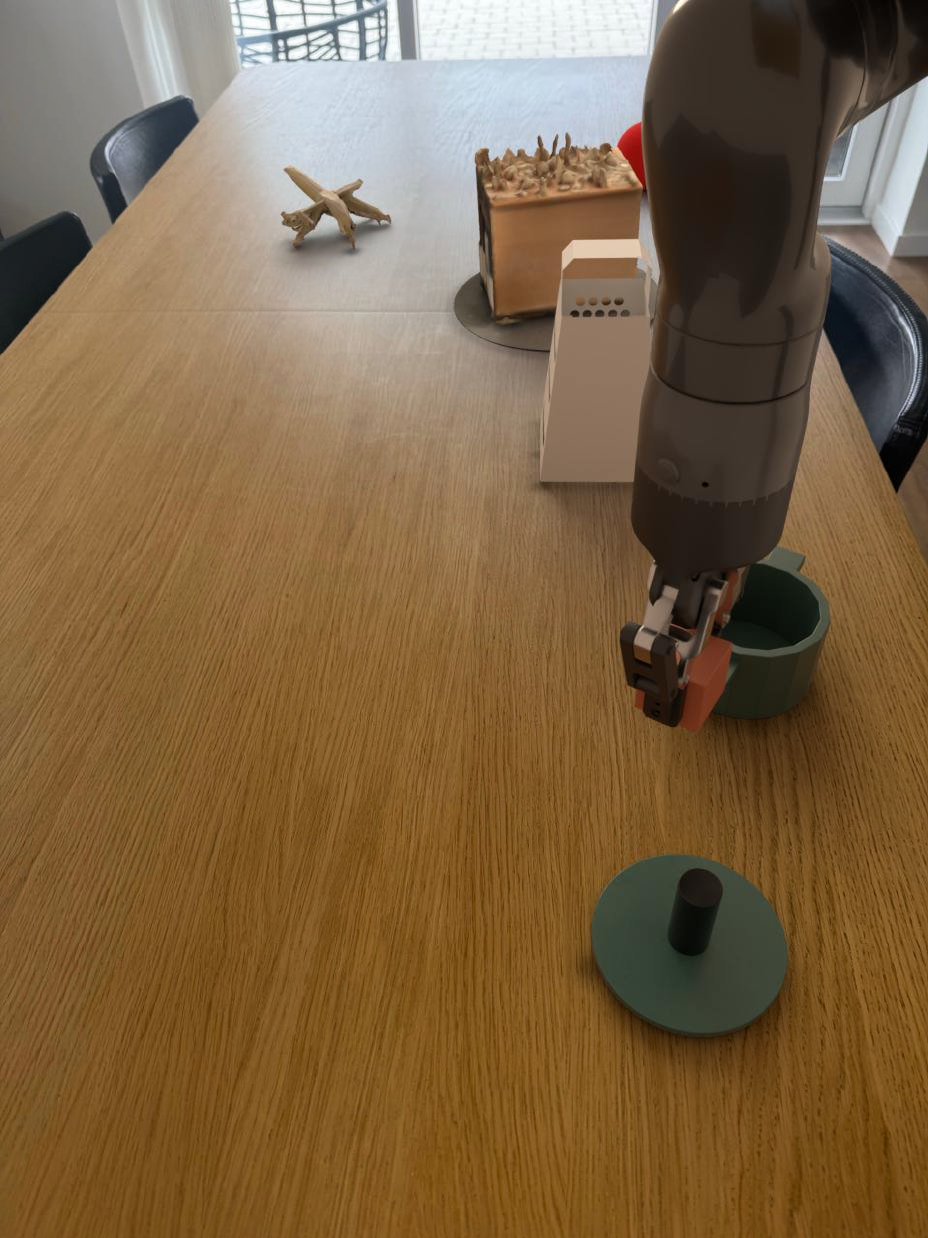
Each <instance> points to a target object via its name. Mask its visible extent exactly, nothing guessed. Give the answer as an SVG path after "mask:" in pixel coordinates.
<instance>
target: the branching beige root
mask: <svg viewBox="0 0 928 1238" xmlns="http://www.w3.org/2000/svg"><path fill="white" fill-rule="evenodd" d="M282 170H283V171H284V172H285V173H286V174H287V175H288V177H289V178H290V180H291V181H292V182H293V183H294V184H295V186H296V187H297V188H299V189H300V191H301V192H303V194H305V195H306V196H307V197H308V198H310V199H311V201H313V202H314V203H313V204H311V205H309V206H307V207H304V208H302V209H299V210H298V209H297V210H295V211H294V212H292V213H286V211H284V210H282V211H281V213H280V216H281V217H282V218H283V220H282V221H281V225H282V226H284V227H287V228H291V230H292V231H294V232H297V233H296V235H295V238H294V241H293V243H292V247H298V246H299V247H301V243H303V242H304V240H305V236H306V235H308V234H309V233H311V232H312V231H314V230H316V227H317V226H318V224H319V222H320V221H321V219H322V216H323V215H324V214H325V215H326V216H329V217H332V218H334V219H335V220H336V222H337V226H338V229H339V232H340V233H341V234H342V235H343V236H346V237H347V238H348V242H349V243H350V244H351V248H352V249H355V248H356V238H355V235H354V232H355V231H356V228H357V223H355V222H354V221H353V219H352V217H351V214H352V215H354V216H356V217H359V218H360V217H361V218H365V219H370V220H374V221H376V222H377V223H378V224H379V225H381V221H386V222H388V224H389V225H392V218H391V215H390V214H385V213H384V212H382V210H380V209H379V208H378V207H376V206H374V205H372V204H369V203H368V202H366V201H364V200H362V199H360V198H358V197H356V196H354V195H353V194H354V193H355V191H357V190H359V189H361V187H362V186H363V184H364V181H363V180H362V179H361V178H358V179H357V180H356V181H353V182H351V183H348V184H346V185H344V186H342V187H340V188H338V189H325V188H324V187H323V186H322V185H321V184H320V183H318V182H317V181H315V180H314V179H313V178H312V177H310V176H309V175H307V174H306V173H304V172H303V171H301V170H300V169H298V168H297V167H295V166H293V165H288V166H286V167H285V168H283V169H282Z"/></svg>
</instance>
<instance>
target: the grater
mask: <svg viewBox="0 0 928 1238" xmlns="http://www.w3.org/2000/svg"><path fill="white" fill-rule="evenodd" d="M637 257H638V258H642V260H644V262H645V263H646V271H645V273H646V282H645V284H644V278H615V279H562V273H563V269H564V268H565V267H566V266H567V265H568V264H569V263H570V262H571V261H572V260H573V259H574V258H637ZM652 271H653V268H652V263H651V257H650V251H649V250H648V248H647V247H646V246H645V245H644V243H643V242H642V241H641V239H640V238H639V239H615V240H573V241H572V242H571V243H570V244H569V245H568V246H567V247H566V248H565V249H564V250H563V251H562V269H561V280H560V287H559V294H558V301H557V308H556V315H555V322H554V329H553V336H552V343H551V350H549V358H548V365H547V372H546V379H545V387H544V393H543V399H542V407H541V415H540V421H539V425H540V427H539V429H540V430H539V431H540V432H539V440H540V441H539V482H540V483H634V472H635V461H636V450H637V439H638V427H639V415H640V407H641V400H642V395H643V391H644V386H645V383H646V379H647V375H648V370H649V365H650V355H651V321H650V314H649V308H648V304H649V293H650V283H651V278H652ZM579 297H582V298H584V299H585V304H584V305H582V306H578V305H577V304H576V299H577V298H579ZM591 297H596V298H597V299H598V303H597V304H596V305H594V306H592V305H590V304H589V303H588V301H589V299H590V298H591ZM604 297H609V298H610V299H611V303H610V304H609V305H607V306H605V305H603V304H602V302H601V301H602V299H603V298H604ZM617 297H622V298H623V299H624V302H623V304H622V305H619V306H618V305H616V304H615V303H614V300H615V298H617ZM573 310H577V311H578V312H579V314H580V315H579V317H572V316H573V315H570V313H571V311H573ZM585 310H590V311H591V312H592V316H591V317H583V315H582V314H583V312H584V311H585ZM597 310H603V311H604V316H603V317H596V316H595V312H596V311H597ZM610 310H616V311H617V316H616V317H609V316H608V312H609V311H610ZM623 310H628V311H630V315H629V317H621V315H620V314H621V312H622V311H623Z"/></svg>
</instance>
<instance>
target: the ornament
mask: <svg viewBox="0 0 928 1238" xmlns="http://www.w3.org/2000/svg"><path fill="white" fill-rule="evenodd" d="M616 147H618V148H619V150H620V151H621V152H622V154H623V156H624V157H625V159H626V160H628V161H629V164H630V165H631V167H632V169H633V171H634V173H635V175H636V176H637V178H638V180H639V181H640V183H641V184H642V186H643V190H647V188H646V180H645V172H644V163H643V153H642V138H641V121H639V122H637V123H635V124H632V125H631V126H630V127H628V128H627V129H626V130H625V131H624V132H623V134H622V135H621V136H620V138H619V140H618V142H617V145H616Z"/></svg>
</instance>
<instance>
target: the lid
mask: <svg viewBox="0 0 928 1238" xmlns="http://www.w3.org/2000/svg"><path fill="white" fill-rule="evenodd" d="M590 931H591V932H590V940H591V941H590V942H591V950H592V954H593V958H594V962H595V964H596V967H597V970H598V972H599V974H600V976H601V978H602V980H603V982H604V983H605V985H606V986H607V988H608V989H609V990H610V992H611V993H612V995H613V996H614V997H615V998H616V1000H618V1001H619V1002H620V1003H621V1004H622V1006H624V1007H625V1008H626V1009H627V1010H628V1011H629V1012H631V1013H632V1014H633V1015H635V1016H636V1017H638V1018H639V1019H641V1020H642V1021H643V1022H645V1023H647V1024H649V1025H651V1026H653V1027H655V1028H657V1029H660V1030H662V1031H665V1032H668V1033H671V1034H675V1035H679V1036H683V1037H691V1038H714V1037H720V1036H721V1037H722V1036H727V1035H730V1034H732V1033H736V1032H738V1031H740V1030H743V1029H745V1028H747V1027H749V1026H750V1025H752V1024H753V1023H754V1022H757V1021H758V1020H760V1018H761V1017H763V1016H764V1014H766V1013H767V1012H768V1011H769V1009H770V1008H771V1007H772V1006H773V1004H774V1003H775V1001H776V999H777V998H778V996H779V994H780V992H781V989H782V987H783V984H784V983H785V982H784V981H785V979H786V975H787V970H788V959H789V958H788V944H787V939H786V934H785V931H784V928H783V926H782V924H781V921H780V918H779V916H778V914H777V912H776V911H775V909H774V907H773V906H772V904H771V903H770V901H769V900H768V899H767V897H765V895H764V894H763V893H762V891H760V890H759V888H758V887H757V886H756V885H754V884H753V883H752V882H751V881H750V880H749V879H747V878H746V877H744V876H743V875H741V873H739V872H737V871H736V870H734V869H732V868H731V867H729V866H727V865H724V864H723V863H720V862H717V861H716V860H713V859H709V858H705V857H702V856H697V855H693V854H682V853H668V854H667V853H666V854H659V855H654V856H651V857H647V858H643V859H640V860H639V861H636V862H634V863H632V864H631V865H629V866H627V867H625V868H623V869H622V870H621V871H620V872H617V874H616V875H615V876H614V877H613V878H612V879H610V881H609V882H608V883H607V884H606V886H605V887H604V889H603V890H602V891H601V893H600V895H599V897H598V899H597V901H596V905H595V907H594V910H593V915H592V919H591V927H590Z"/></svg>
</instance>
